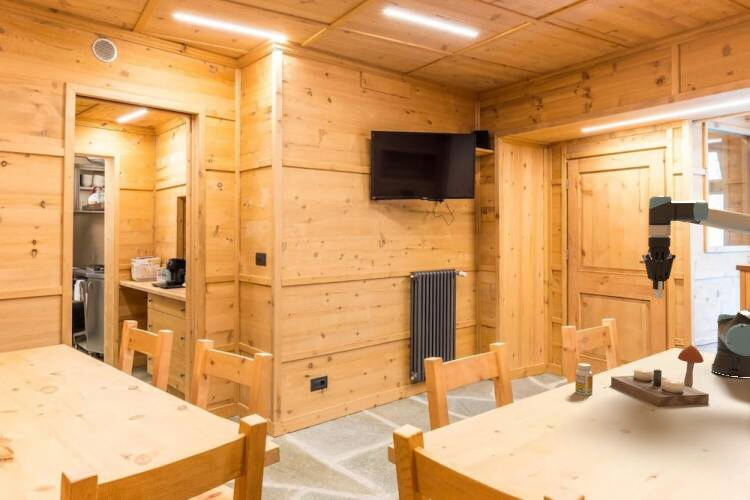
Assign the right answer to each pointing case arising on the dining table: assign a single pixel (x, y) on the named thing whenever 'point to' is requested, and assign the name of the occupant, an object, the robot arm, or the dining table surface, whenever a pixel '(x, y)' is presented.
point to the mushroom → (690, 362)
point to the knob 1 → (643, 375)
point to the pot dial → (657, 377)
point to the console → (659, 392)
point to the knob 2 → (672, 386)
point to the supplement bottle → (584, 379)
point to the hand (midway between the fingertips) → (658, 297)
